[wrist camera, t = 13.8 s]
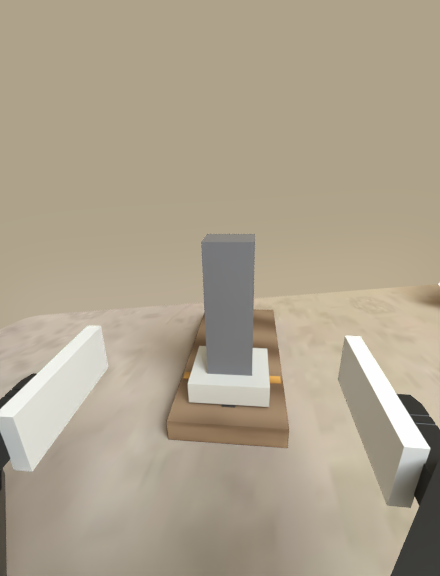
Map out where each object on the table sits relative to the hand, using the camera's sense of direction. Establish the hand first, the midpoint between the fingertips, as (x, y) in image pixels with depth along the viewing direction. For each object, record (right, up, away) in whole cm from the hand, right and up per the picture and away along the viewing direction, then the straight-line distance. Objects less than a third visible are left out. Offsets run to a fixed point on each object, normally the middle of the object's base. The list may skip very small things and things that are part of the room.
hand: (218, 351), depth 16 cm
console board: (+2, -6, +19) cm, 20 cm away
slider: (+1, -6, +13) cm, 14 cm away
